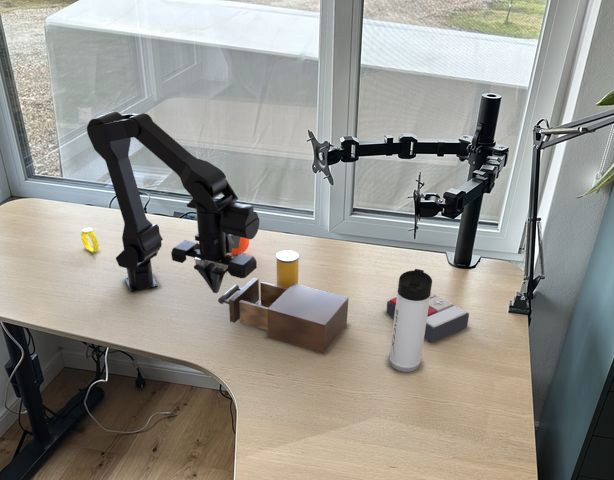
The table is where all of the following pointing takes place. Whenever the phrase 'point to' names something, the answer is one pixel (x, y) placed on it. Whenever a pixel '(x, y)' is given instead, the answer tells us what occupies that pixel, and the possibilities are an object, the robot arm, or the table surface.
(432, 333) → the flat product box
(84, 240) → the watch
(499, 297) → the table surface
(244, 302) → the drawer
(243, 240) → the clementine
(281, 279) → the tin
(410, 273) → the travel mug
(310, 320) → the cabinet
